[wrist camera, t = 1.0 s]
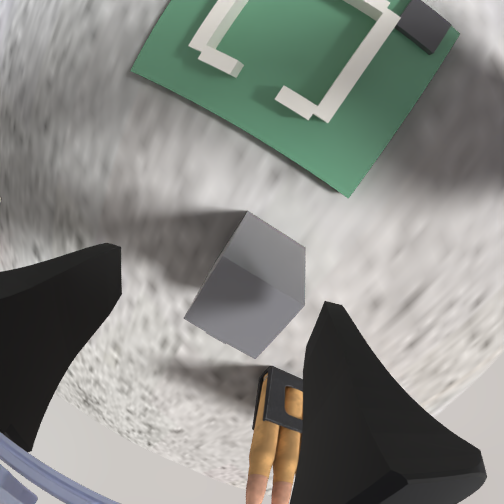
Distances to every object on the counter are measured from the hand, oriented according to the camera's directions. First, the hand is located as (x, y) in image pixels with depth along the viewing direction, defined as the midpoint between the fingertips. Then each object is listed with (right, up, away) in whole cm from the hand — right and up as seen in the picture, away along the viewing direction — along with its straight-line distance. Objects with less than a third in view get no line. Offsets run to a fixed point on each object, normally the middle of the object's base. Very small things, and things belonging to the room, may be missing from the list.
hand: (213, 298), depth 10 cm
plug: (+2, +1, +9) cm, 9 cm away
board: (+4, +13, +3) cm, 14 cm away
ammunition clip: (+7, -10, +13) cm, 18 cm away
